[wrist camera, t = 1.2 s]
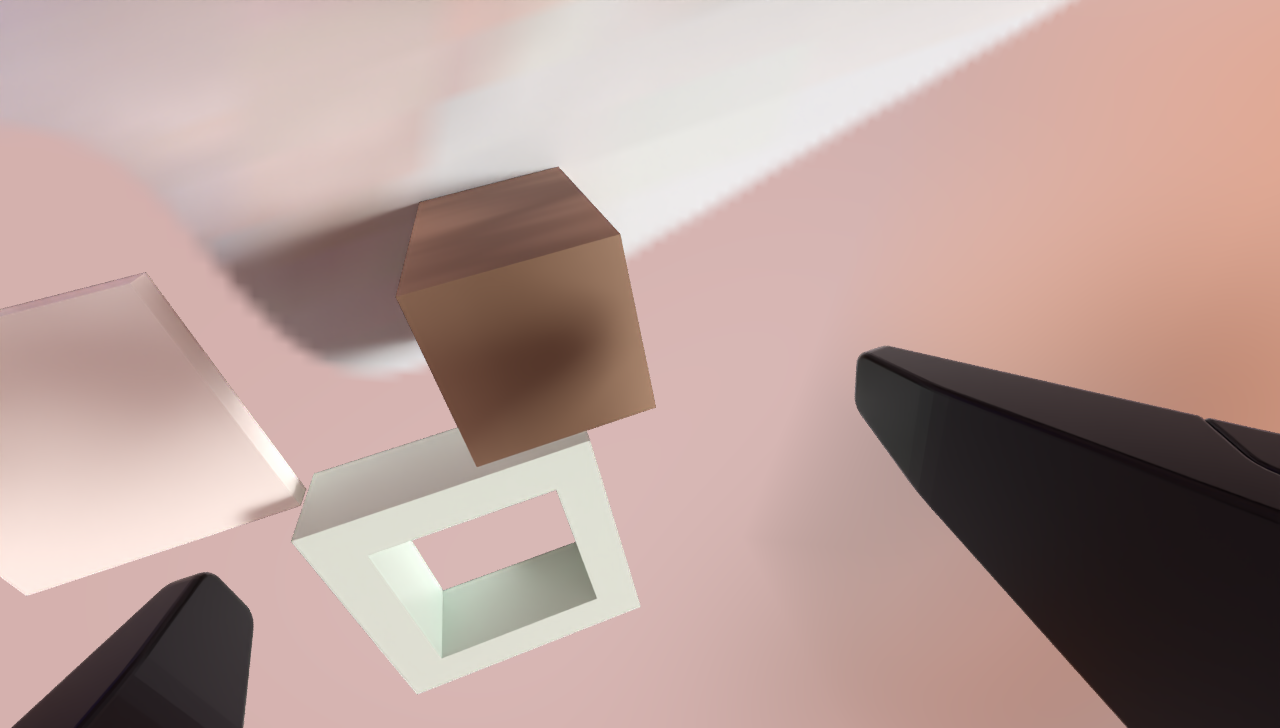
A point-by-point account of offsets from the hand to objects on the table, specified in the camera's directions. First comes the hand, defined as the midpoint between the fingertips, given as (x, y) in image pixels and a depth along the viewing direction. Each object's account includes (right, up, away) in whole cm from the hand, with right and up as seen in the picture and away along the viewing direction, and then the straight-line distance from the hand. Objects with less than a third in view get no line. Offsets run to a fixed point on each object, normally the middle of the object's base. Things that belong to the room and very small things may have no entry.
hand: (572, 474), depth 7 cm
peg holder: (-5, -4, +14) cm, 15 cm away
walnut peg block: (-3, +5, +9) cm, 11 cm away
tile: (-15, -1, +8) cm, 17 cm away
